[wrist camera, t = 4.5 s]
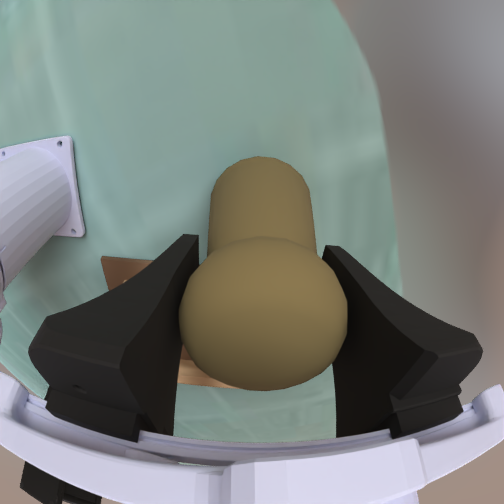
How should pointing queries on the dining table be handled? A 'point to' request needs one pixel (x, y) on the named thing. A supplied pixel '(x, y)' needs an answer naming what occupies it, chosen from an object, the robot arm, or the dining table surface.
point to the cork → (262, 284)
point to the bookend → (53, 485)
